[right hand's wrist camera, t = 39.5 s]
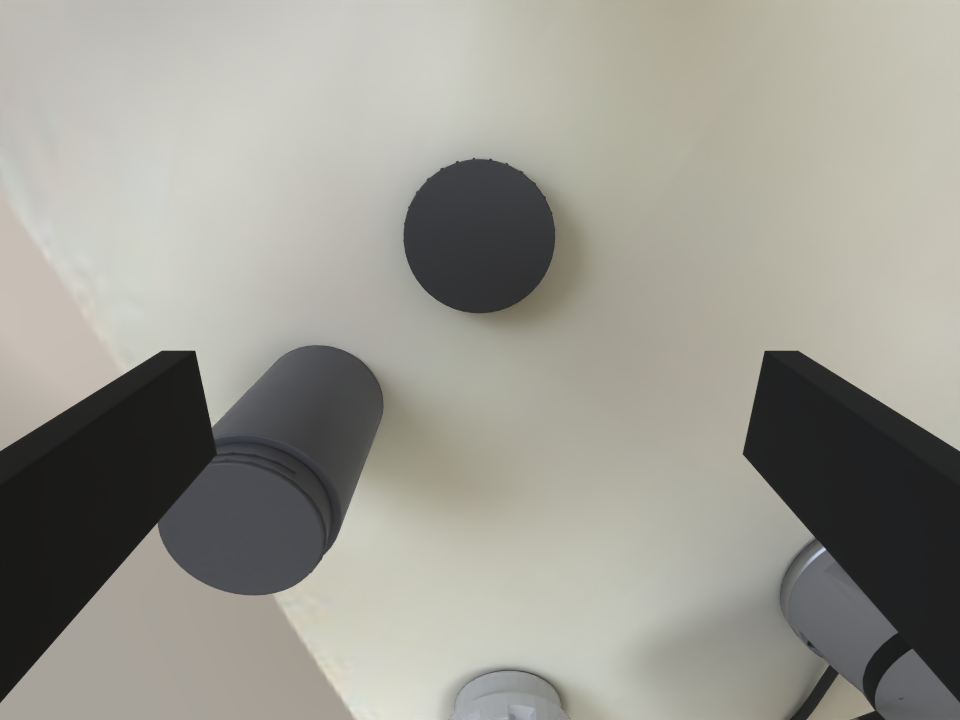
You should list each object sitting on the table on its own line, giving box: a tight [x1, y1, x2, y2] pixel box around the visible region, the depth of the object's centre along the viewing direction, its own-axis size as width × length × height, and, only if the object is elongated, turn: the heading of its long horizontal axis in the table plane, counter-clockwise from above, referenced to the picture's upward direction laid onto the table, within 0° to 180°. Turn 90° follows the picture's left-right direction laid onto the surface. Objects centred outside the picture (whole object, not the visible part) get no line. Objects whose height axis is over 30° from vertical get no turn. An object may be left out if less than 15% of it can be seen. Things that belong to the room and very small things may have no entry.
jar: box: [158, 346, 383, 595], centre depth 34 cm, size 9×9×16 cm
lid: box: [404, 158, 555, 313], centre depth 36 cm, size 10×10×2 cm
